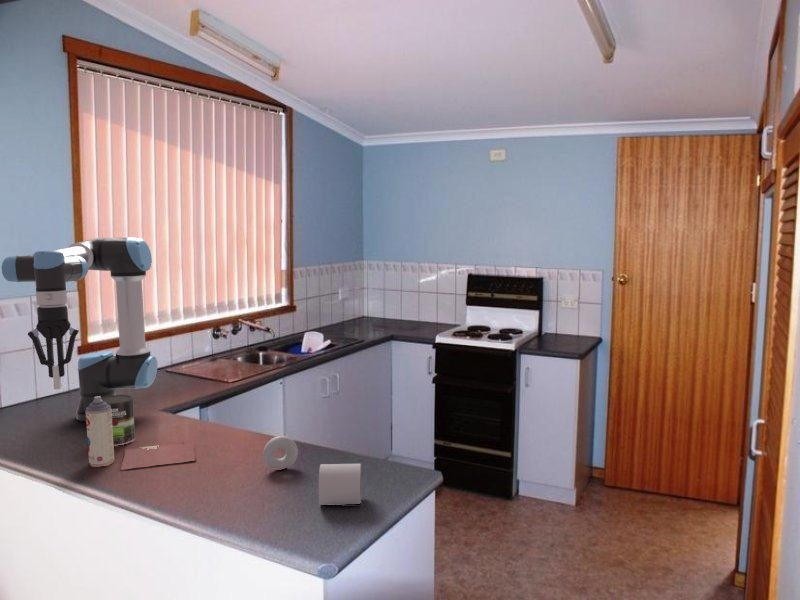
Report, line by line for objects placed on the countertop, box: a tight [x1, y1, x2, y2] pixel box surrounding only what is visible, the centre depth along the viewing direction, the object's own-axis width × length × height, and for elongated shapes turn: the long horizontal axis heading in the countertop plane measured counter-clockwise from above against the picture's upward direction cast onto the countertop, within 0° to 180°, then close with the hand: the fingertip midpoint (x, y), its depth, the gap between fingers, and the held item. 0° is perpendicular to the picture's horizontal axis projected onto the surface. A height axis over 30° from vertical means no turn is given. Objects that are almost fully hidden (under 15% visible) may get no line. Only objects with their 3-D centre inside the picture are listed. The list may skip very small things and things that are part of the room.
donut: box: [262, 435, 299, 468], centre depth 185 cm, size 10×4×10 cm, turn 116°
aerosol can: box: [85, 396, 115, 464], centre depth 190 cm, size 7×7×20 cm
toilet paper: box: [318, 463, 362, 506], centre depth 163 cm, size 10×10×10 cm
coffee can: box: [101, 394, 136, 445], centre depth 210 cm, size 10×10×14 cm
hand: (57, 388), depth 185 cm, fingers closed
